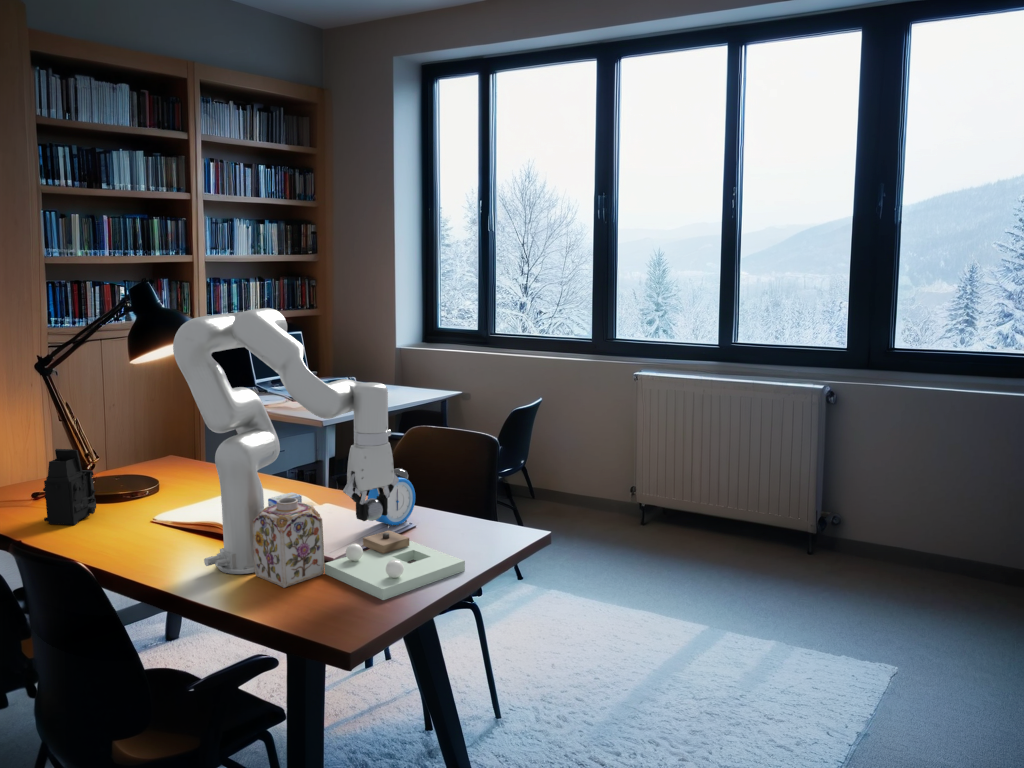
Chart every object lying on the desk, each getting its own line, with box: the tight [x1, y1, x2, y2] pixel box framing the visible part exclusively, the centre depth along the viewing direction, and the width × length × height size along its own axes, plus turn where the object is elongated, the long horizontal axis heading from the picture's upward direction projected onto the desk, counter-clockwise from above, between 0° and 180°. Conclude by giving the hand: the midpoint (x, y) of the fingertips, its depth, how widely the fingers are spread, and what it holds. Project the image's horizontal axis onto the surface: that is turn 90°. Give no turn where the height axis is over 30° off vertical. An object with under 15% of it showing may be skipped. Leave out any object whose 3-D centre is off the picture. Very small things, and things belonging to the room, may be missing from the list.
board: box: [324, 539, 466, 601], centre depth 201 cm, size 24×22×2 cm
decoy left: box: [345, 543, 364, 561], centre depth 201 cm, size 4×4×4 cm
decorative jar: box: [253, 498, 325, 589], centre depth 198 cm, size 12×12×18 cm
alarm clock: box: [367, 467, 416, 527], centre depth 235 cm, size 13×6×15 cm, turn 143°
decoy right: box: [386, 560, 404, 578], centre depth 191 cm, size 4×4×4 cm
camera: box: [42, 448, 97, 526], centre depth 239 cm, size 10×14×20 cm
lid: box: [362, 530, 410, 554], centre depth 210 cm, size 8×8×3 cm
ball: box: [365, 498, 383, 522], centre depth 194 cm, size 5×5×5 cm
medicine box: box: [267, 492, 303, 507], centre depth 232 cm, size 8×4×9 cm, turn 141°
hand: (372, 516), depth 194 cm, fingers closed on ball, 5 cm apart
